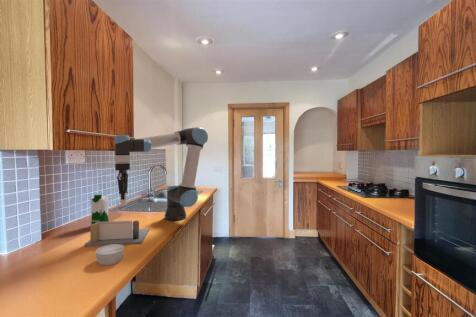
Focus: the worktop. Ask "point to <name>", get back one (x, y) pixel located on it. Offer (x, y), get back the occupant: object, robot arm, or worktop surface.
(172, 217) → the robot arm
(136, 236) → the hinge post
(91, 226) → the post
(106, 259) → the ramekin
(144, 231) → the board
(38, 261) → the worktop surface
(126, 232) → the rod
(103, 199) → the milk carton
